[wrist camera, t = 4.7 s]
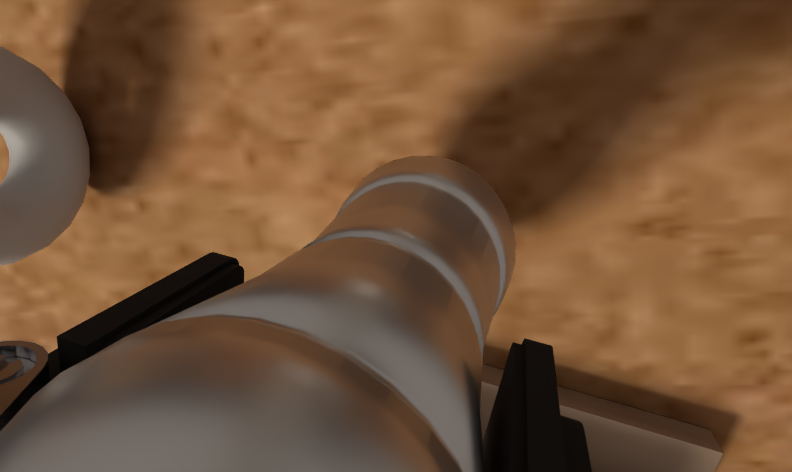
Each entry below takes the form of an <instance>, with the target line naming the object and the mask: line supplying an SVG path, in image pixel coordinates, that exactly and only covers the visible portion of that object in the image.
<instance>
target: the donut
mask: <svg viewBox="0 0 792 472" xmlns="http://www.w3.org/2000/svg"><path fill="white" fill-rule="evenodd" d="M0 133H1V135H2V136H3V137H4V139H5V142H6V144H7V147H8V150H9V160H10V165H9V168H8V172H7V176H6V177H5V179H4V180H3V182H2V183H1V185H0V265H6V264H11V263H15V262H17V261H19V260H21V259H23V258H25V257H27V256H29V255H31V254H33V253H35V252H37V251H39V250H41V249H43V248H45V247H47V246H49V245H50V244H51V243H52V242H53V241H54V240H55V239H56V238H57V237H58V236H59V235H60V234H61V233H62V232H64V231H65V230H66V229H67V228H68V227H69V226H70V224H71V222H72V221H73V219H74V217H75V216H76V214H77V212H78V210H79V209H80V207H81V205H82V204H83V202H84V198H85V194H86V190H87V186H88V182H89V178H90V156H89V145H88V142H87V138H86V135H85V132H84V128H83V125H82V121H81V119H80V117H79V116H78V114H77V112H76V111H75V109H74V107H73V106H72V104H71V102H70V101H69V99H68V97H67V96H66V94H65V93H64V92H63V91H62V90H61V89H60V88H59V87H58V86H57V85H56V84H55V83H54V82H53V81H52V80H51V79H50V78H49V77H48V76H47V75H46V74H45V73H44V72H43V71H42V70H41V69H39V68H38V67H36V66H35V65H33V64H31V63H30V62H28V61H26V60H24V59H23V58H21V57H19V56H17V55H16V54H14V53H12V52H11V51H9V50H7V49H5V48H3V47H0Z"/></svg>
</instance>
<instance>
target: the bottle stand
mask: <svg viewBox="0 0 792 472" xmlns="http://www.w3.org/2000/svg"><path fill="white" fill-rule="evenodd" d="M503 372H504V370H502V369H498V368H495V367H491V366H488V365H485V364H483V366H482V386H481V404H480V418H481V430H482V442H483V439H484V435H485V432H486V429H487V425H488V422H489V419H490V415H491V412H492V409H493V405H494V402H495V399H496V395H497V392H498V389H499V385H500V382H501V379H502V375H503ZM557 390H558V398H559V407H560V415H561V416H564V417H568V418H571V419H574V420H578V421H580V422H581V423H582V424H583V427H584V431H585V436H586V442H587V447H588V453H589V458H590V464H591V469H592V472H714V471H715V469H716V467H717V465H718V463H719V461H720V459H721V457H722V455H723V454H724V453H723V451H722V450H721V448H720V446H719V444H718V443H717V441H716V439H715V438H714V436H713V434H712V432H711V431H710V430H709V429H705V428H702V427H698V426H695V425H692V424H688V423H685V422H681V421H678V420H674V419H671V418H667V417H664V416H660V415H657V414H654V413H650V412H647V411H643V410H640V409H636V408H633V407H629V406H626V405H623V404H619V403H616V402H612V401H609V400H605V399H602V398H598V397H595V396H591V395H588V394H585V393H581V392H578V391H574V390H571V389H567V388H564V387H560V386H557Z"/></svg>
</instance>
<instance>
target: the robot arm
mask: <svg viewBox="0 0 792 472" xmlns="http://www.w3.org/2000/svg"><path fill="white" fill-rule="evenodd" d="M242 283H244V269H243V267H242V266H239V262H238V260H237V259H236V258H232V257H229V256H225V255H222V254H218V253H214V252H212V253H209V254H207V255H205V256H203V257H202V258H200V259H198V260H196V261H194V262H192V263H191V264H189V265H187V266H185V267H183V268H181V269H180V270H178V271H176V272H174V273H172V274H170V275H169V276H167V277H165V278H163V279H161V280H159V281H158V282H156V283H154V284H152V285H150V286H148V287H147V288H145V289H143V290H141V291H139V292H137V293H136V294H134V295H132V296H130V297H128V298H126V299H125V300H123V301H121V302H119V303H117V304H115V305H114V306H112V307H110V308H108V309H106V310H104V311H103V312H101V313H99V314H97V315H95V316H93V317H92V318H90V319H88V320H86V321H84V322H82V323H81V324H79V325H77V326H75V327H73V328H71V329H70V330H68V331H66V332H64V333H62V334H60V335H59V336H57V343H58V349H56V350H54V351H52V352H51V353H49V354H48V352H47V351H46V350H45V349H44V347H43V346H40V345H38V344H36V343H33V342H27V341H1V342H0V431H1V430H2V429H3V428H4V427H5V426H6V425H7V424H8V423H9V422H10V420H11V419H12V418H13V417H14V416H15V415H16V414H17V413H18V412H19V411H20V410H21V408H22V407H23V406H24V405H25V404H26V403H27V402H28V401H29V400H30V399H31V398H32V396H33V395H35V394H36V393H37V392H38V391H39V390H41V389H42V388H43V387H44V386H45V385H47V384H48V383H49V382H50V381H51V380H53V379H54V378H55V377H56V376H57V375H59V374H60V373H61V372H63V371H65V370H67V369H69V368H70V367H72V366H74V365H76V364H78V363H80V362H82V361H83V360H85V359H87V358H89V357H91V356H93V355H94V354H96V353H98V352H100V351H101V350H103V349H105V348H107V347H108V346H110V345H112V344H114V343H115V342H117V341H119V340H121V339H122V338H124V337H126V336H128V335H130V334H133V333H135V332H138V331H140V330H142V329H145V328H147V327H149V326H151V325H153V324H155V323H158V322H160V321H162V320H164V319H166V318H168V317H171V316H173V315H175V314H177V313H179V312H181V311H184V310H186V309H188V308H190V307H192V306H195V305H197V304H199V303H201V302H203V301H205V300H208V299H210V298H212V297H214V296H216V295H218V294H221V293H223V292H225V291H227V290H229V289H231V288H234V287H236V286H238V285H240V284H242ZM482 443H483V455H484V467H485V472H592V469H591V464H590V458H589V453H588V447H587V442H586V436H585V431H584V427H583V424H582V423H581V422H580V421H578V420H574V419H571V418H568V417H564V416H561V415H560V407H559V398H558V390H557V381H556V373H555V364H554V356H553V348H552V346H550V345H547V344H543V343H539V342H536V341H532V340H529V339H524V340H523V343H522V345H521V344H517V343H514V342H513V343H512V346H511V349H510V352H509V355H508V359H507V362H506V365H505V369H504V372H503V375H502V379H501V382H500V385H499V389H498V392H497V395H496V399H495V402H494V405H493V409H492V412H491V415H490V419H489V422H488V425H487V429H486V432H485V435H484V439H483V442H482Z"/></svg>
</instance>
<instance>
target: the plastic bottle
mask: <svg viewBox="0 0 792 472" xmlns="http://www.w3.org/2000/svg"><path fill="white" fill-rule="evenodd" d="M515 250H516V243H515V237H514V232H513V226H512V223H511V221H510V218H509V216H508V213H507V210H506V208H505V206H504V205H503V203H502V202H501V200H500V198H499V197H498V195H497V194H496V192H495V191H494V189H493V188H492V187H491V185H490V184H489V183H488V182H487V181H486V180H485V179H484V178H483V177H482V176H481V175H479V174H478V173H476V172H475V171H473V170H472V169H470V168H469V167H468V166H466V165H463V164H461V163H458V162H456V161H454V160H451V159H446V158H441V157H435V156H410V157H406V158H402V159H397V160H393V161H391V162H389V163H387V164H385V165H383V166H380V167H378V168H377V169H375V170H374V171H373V172H371V173H370V174H369V175H367V176H366V177H365V178H364V179H363V180H362V181H361V182H360V183H359V184H358V186H357V187H356V188H355V189H354V190H353V191H352V193H351V194H350V195H349V196H348V198H347V199H346V200H345V202H344V203H343V204H342V206H341V208H340V210H339V212H338V214H337V215H336V217H335V219H334V220H333V221H332V222H331V223H330V224H329V225H328V226H327V227H326V228H325V230H324V231H323V232H322V233H321V234H320V235H319V236H318V237H317V238H316V239H315V240H314V241H313V242H311V243H309V244H308V245H307V246H305V247H304V248H302V249H301V250H299V251H297V252H295V253H294V254H292V255H291V256H289V257H288V258H286V259H285V260H283V261H281V262H280V263H278V264H277V265H275V266H274V267H272V268H271V269H269V270H267V271H266V272H264V273H263V274H261V275H260V276H258V277H255V278H253V279H251V280H249V281H247V282H245V283H242V284H240V285H238V286H236V287H234V288H231V289H229V290H227V291H225V292H223V293H221V294H218V295H216V296H214V297H212V298H210V299H208V300H205V301H203V302H201V303H199V304H197V305H195V306H192V307H190V308H188V309H186V310H184V311H181V312H179V313H177V314H175V315H173V316H171V317H168V318H166V319H164V320H162V321H160V322H158V323H155V324H153V325H151V326H149V327H147V328H145V329H142V330H140V331H138V332H135V333H133V334H130V335H128V336H126V337H124V338H122V339H121V340H119V341H117V342H115V343H114V344H112V345H110V346H108V347H107V348H105V349H103V350H101V351H100V352H98V353H96V354H94V355H93V356H91V357H89V358H87V359H85V360H83V361H82V362H80V363H78V364H76V365H74V366H72V367H70V368H69V369H67V370H65V371H63V372H61V373H60V374H59V375H57V376H56V377H55V378H54V379H53V380H51V381H50V382H49V383H48V384H47V385H45V386H44V387H43V388H42V389H41V390H39V391H38V392H37V393H36V394H35V395H33V396H32V398H31V399H30V400H29V401H28V402H27V403H26V404H25V405H24V406H23V407H22V408H21V410H20V411H19V412H18V413H17V414H16V415H15V416H14V417H13V418H12V419H11V420H10V422H9V423H8V424H7V425H6V426H5V427H4V428H3V429H2V430H1V431H0V472H485V467H484V455H483V443H482V430H481V418H480V404H481V386H482V366H483V347H484V344H485V341H486V337H487V334H488V331H489V328H490V324H491V321H492V318H493V316H494V314H495V313H496V311H497V310H498V308H499V306H500V304H501V302H502V300H503V297H504V295H505V293H506V291H507V288H508V286H509V283H510V280H511V277H512V273H513V269H514V265H515Z"/></svg>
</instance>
